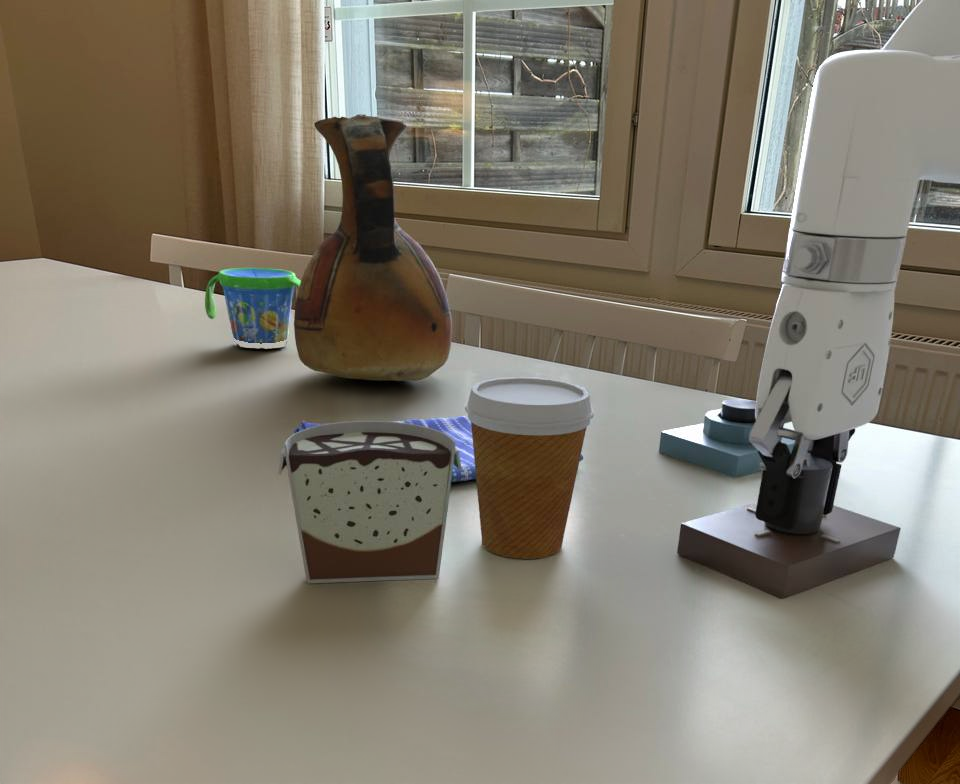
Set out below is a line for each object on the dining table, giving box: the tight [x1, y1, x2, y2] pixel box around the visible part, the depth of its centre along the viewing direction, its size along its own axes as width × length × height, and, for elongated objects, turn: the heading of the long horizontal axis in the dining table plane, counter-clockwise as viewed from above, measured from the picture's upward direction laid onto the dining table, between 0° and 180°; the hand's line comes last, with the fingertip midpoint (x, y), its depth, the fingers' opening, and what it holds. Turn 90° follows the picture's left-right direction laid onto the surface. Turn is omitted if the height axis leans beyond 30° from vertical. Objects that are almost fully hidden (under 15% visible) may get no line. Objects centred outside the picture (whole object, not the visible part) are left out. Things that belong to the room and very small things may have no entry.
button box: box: [658, 408, 809, 479], centre depth 100 cm, size 12×10×4 cm
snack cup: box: [204, 267, 301, 344], centre depth 140 cm, size 16×10×10 cm
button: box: [720, 398, 756, 423], centre depth 98 cm, size 4×4×2 cm
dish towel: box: [293, 415, 584, 483], centre depth 95 cm, size 17×24×3 cm
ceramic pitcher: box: [293, 113, 453, 382], centre depth 119 cm, size 20×20×30 cm
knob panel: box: [676, 501, 902, 599], centre depth 76 cm, size 14×10×3 cm
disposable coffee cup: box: [464, 376, 595, 560], centre depth 74 cm, size 10×10×12 cm
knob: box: [764, 455, 833, 534], centre depth 74 cm, size 4×4×5 cm
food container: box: [278, 420, 462, 584], centre depth 70 cm, size 12×6×10 cm, turn 100°
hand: (793, 514), depth 75 cm, fingers closed on knob, 4 cm apart
